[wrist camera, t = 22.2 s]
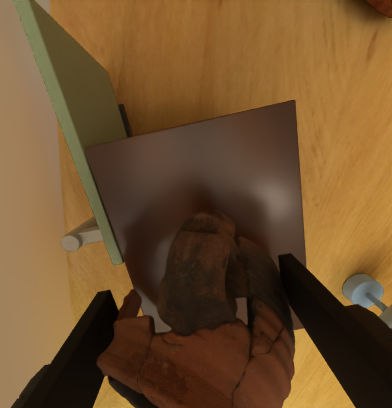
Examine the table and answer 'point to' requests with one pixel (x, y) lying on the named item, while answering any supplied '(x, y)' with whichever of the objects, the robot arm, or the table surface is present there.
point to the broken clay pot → (207, 327)
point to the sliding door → (76, 112)
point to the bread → (382, 6)
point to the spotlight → (367, 294)
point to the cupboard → (202, 189)
